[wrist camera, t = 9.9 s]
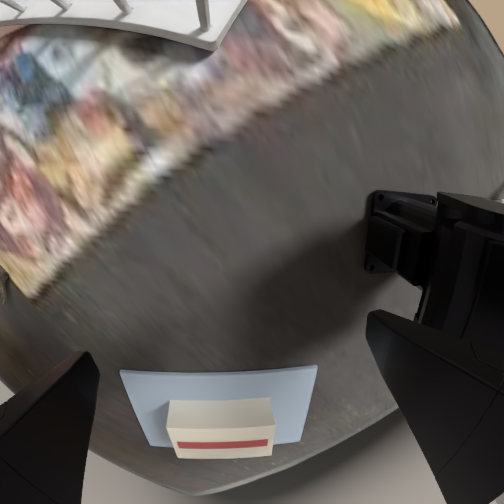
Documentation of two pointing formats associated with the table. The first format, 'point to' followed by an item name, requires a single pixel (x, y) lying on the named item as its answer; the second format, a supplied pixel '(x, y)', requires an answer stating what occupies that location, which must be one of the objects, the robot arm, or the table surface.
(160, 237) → the table surface
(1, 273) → the rhino figurine
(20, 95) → the table surface
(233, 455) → the card box
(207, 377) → the mat
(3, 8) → the file sorter
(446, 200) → the robot arm
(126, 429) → the table surface
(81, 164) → the table surface
